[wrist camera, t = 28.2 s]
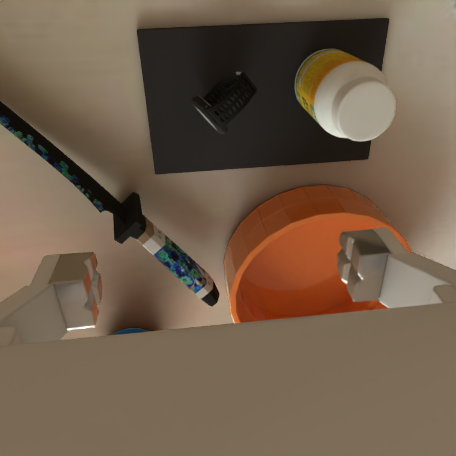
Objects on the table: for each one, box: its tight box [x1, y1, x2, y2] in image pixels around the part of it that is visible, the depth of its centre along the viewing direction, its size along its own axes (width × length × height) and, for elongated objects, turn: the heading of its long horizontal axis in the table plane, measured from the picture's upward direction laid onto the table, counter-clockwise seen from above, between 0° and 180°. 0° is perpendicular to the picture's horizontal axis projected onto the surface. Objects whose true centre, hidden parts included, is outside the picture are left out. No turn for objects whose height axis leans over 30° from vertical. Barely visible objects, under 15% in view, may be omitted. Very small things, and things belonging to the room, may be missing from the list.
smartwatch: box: [192, 72, 257, 134], centre depth 33 cm, size 4×5×5 cm
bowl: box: [224, 185, 411, 323], centre depth 44 cm, size 18×18×6 cm
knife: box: [0, 101, 219, 306], centre depth 37 cm, size 31×3×4 cm, turn 39°
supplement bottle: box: [295, 49, 396, 141], centre depth 32 cm, size 5×5×10 cm
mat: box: [137, 18, 389, 174], centre depth 36 cm, size 20×12×1 cm, turn 92°
